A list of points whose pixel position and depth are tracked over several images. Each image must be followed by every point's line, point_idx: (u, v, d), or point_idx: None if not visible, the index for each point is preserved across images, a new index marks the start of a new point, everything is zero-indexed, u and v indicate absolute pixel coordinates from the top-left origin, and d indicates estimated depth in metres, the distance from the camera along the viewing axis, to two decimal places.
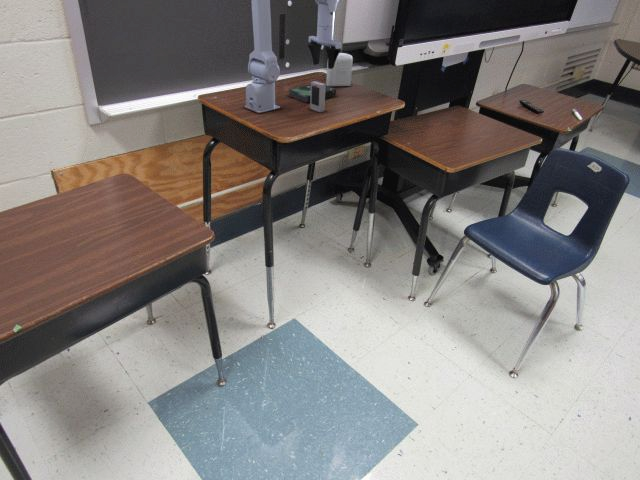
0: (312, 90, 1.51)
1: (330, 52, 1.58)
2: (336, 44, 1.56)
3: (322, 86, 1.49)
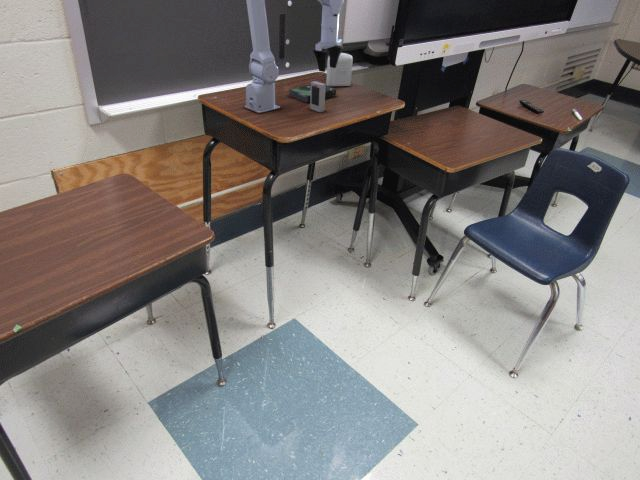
0: (312, 90, 1.51)
1: None
2: None
3: (322, 86, 1.49)
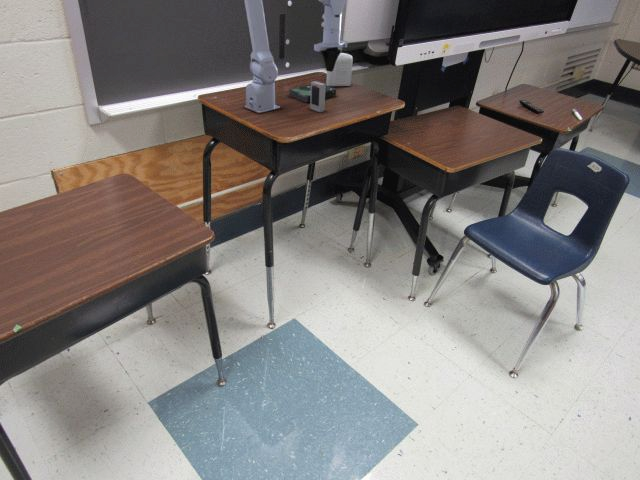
0: (312, 90, 1.51)
1: None
2: None
3: (322, 86, 1.49)
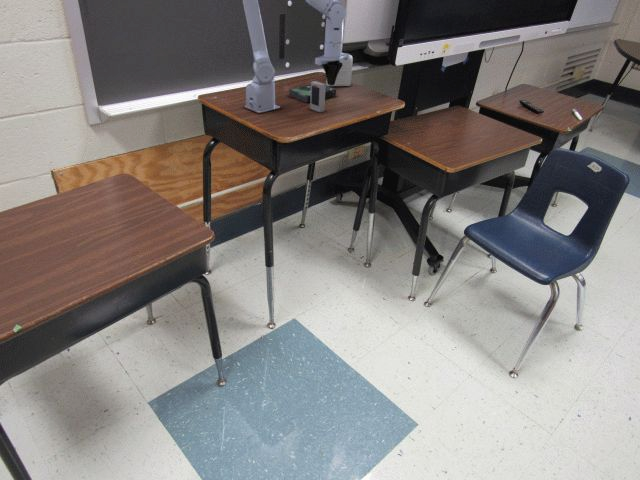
0: (312, 90, 1.51)
1: None
2: None
3: (322, 86, 1.49)
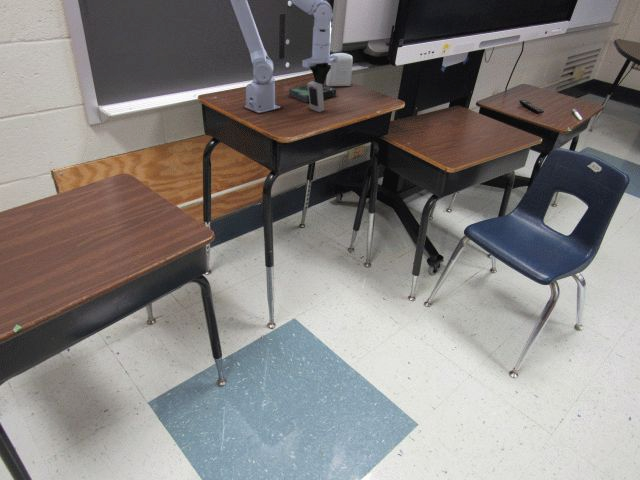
0: (310, 91, 1.51)
1: None
2: None
3: (319, 87, 1.48)
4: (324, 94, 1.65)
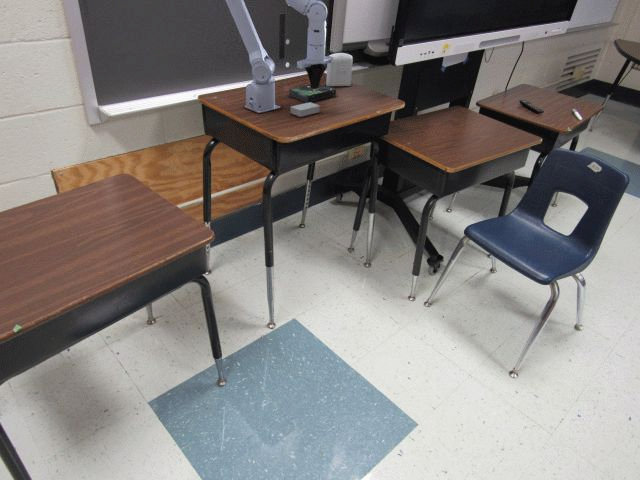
0: None
1: None
2: None
3: (301, 114, 1.47)
4: (324, 94, 1.65)
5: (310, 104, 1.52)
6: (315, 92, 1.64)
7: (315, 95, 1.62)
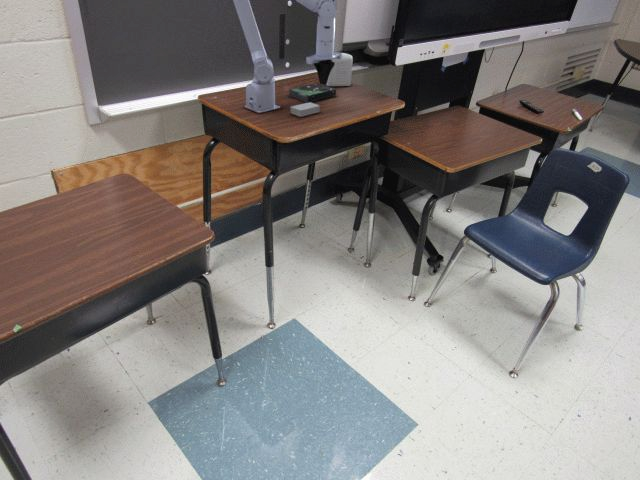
0: None
1: None
2: None
3: (301, 114, 1.47)
4: (324, 94, 1.65)
5: (310, 104, 1.52)
6: (315, 92, 1.64)
7: (315, 95, 1.62)
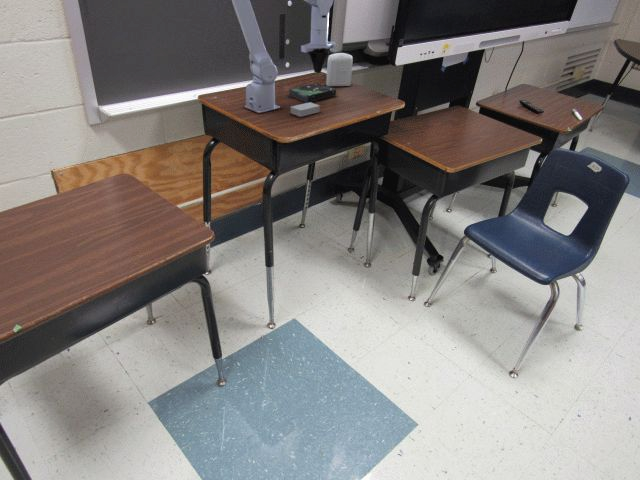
0: None
1: None
2: None
3: (301, 114, 1.47)
4: (324, 94, 1.65)
5: (310, 104, 1.52)
6: (315, 92, 1.64)
7: (315, 95, 1.62)
